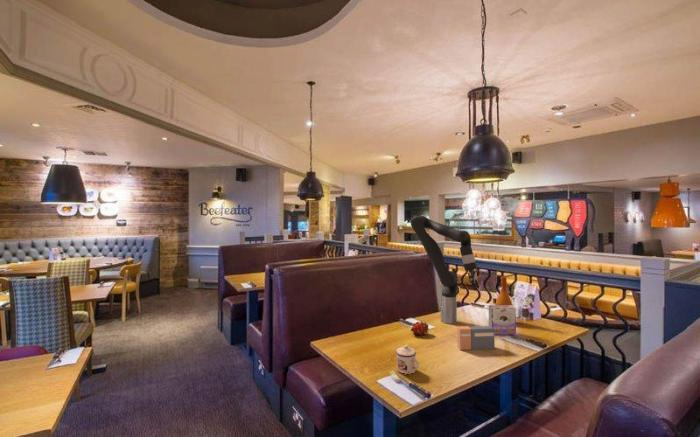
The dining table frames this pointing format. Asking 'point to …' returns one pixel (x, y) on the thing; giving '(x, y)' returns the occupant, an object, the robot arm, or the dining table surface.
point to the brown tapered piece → (503, 294)
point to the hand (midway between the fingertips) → (476, 288)
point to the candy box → (503, 319)
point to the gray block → (482, 337)
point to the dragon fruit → (420, 328)
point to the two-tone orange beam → (464, 337)
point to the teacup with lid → (406, 360)
